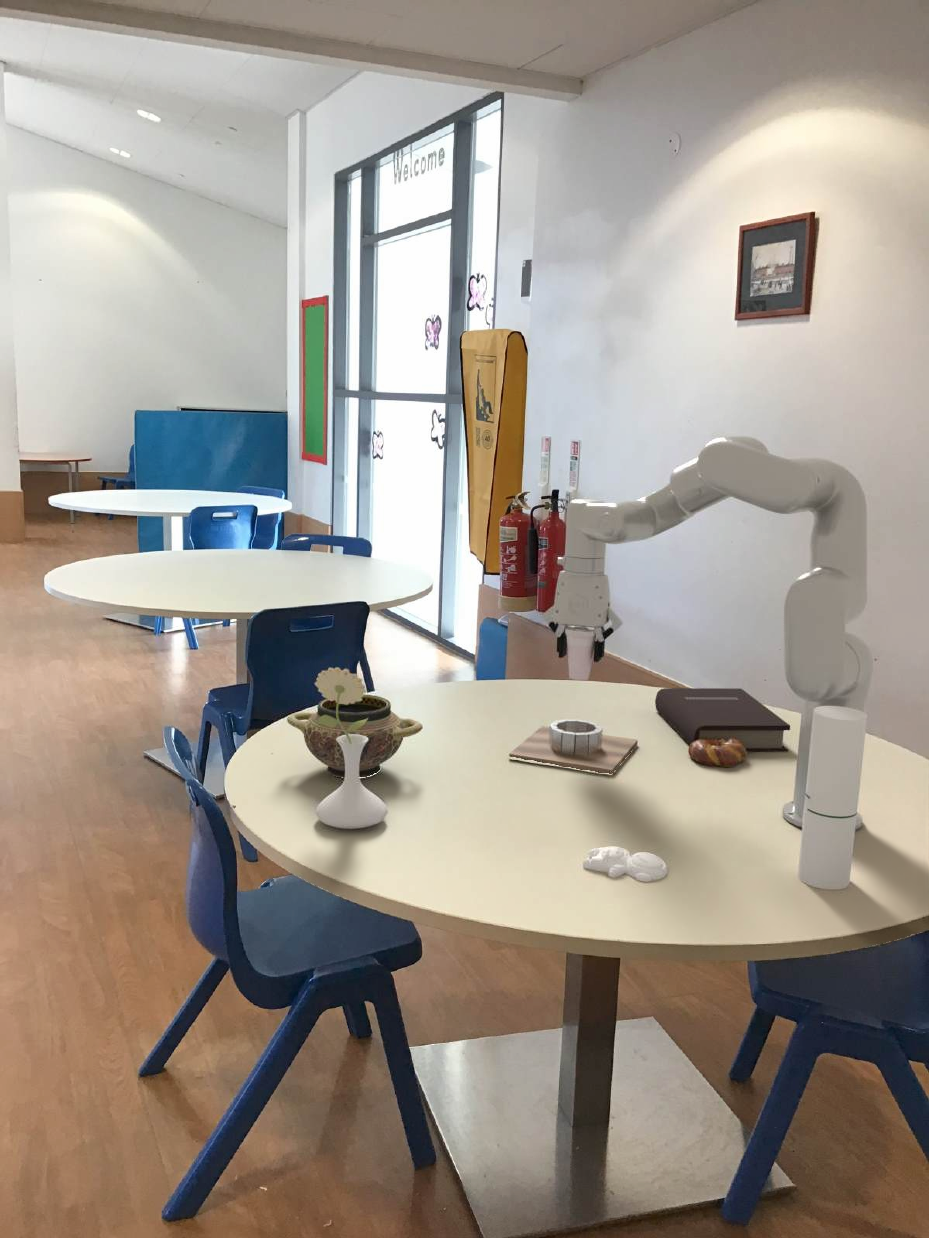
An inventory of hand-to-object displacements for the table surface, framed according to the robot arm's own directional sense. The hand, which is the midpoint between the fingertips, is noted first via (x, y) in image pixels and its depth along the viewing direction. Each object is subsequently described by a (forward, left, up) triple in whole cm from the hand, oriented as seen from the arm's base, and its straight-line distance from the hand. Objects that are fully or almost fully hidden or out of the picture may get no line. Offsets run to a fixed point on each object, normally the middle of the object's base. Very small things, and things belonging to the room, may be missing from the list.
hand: (579, 657), depth 205 cm
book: (+28, -23, -20) cm, 41 cm away
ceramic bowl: (-29, +33, -19) cm, 48 cm away
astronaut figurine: (-47, -22, -20) cm, 56 cm away
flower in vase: (-50, +23, -19) cm, 58 cm away
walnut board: (0, 0, -19) cm, 19 cm away
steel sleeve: (0, 0, -18) cm, 18 cm away
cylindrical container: (-39, -49, -19) cm, 65 cm away
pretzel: (+9, -26, -19) cm, 34 cm away
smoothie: (0, 0, -4) cm, 4 cm away
